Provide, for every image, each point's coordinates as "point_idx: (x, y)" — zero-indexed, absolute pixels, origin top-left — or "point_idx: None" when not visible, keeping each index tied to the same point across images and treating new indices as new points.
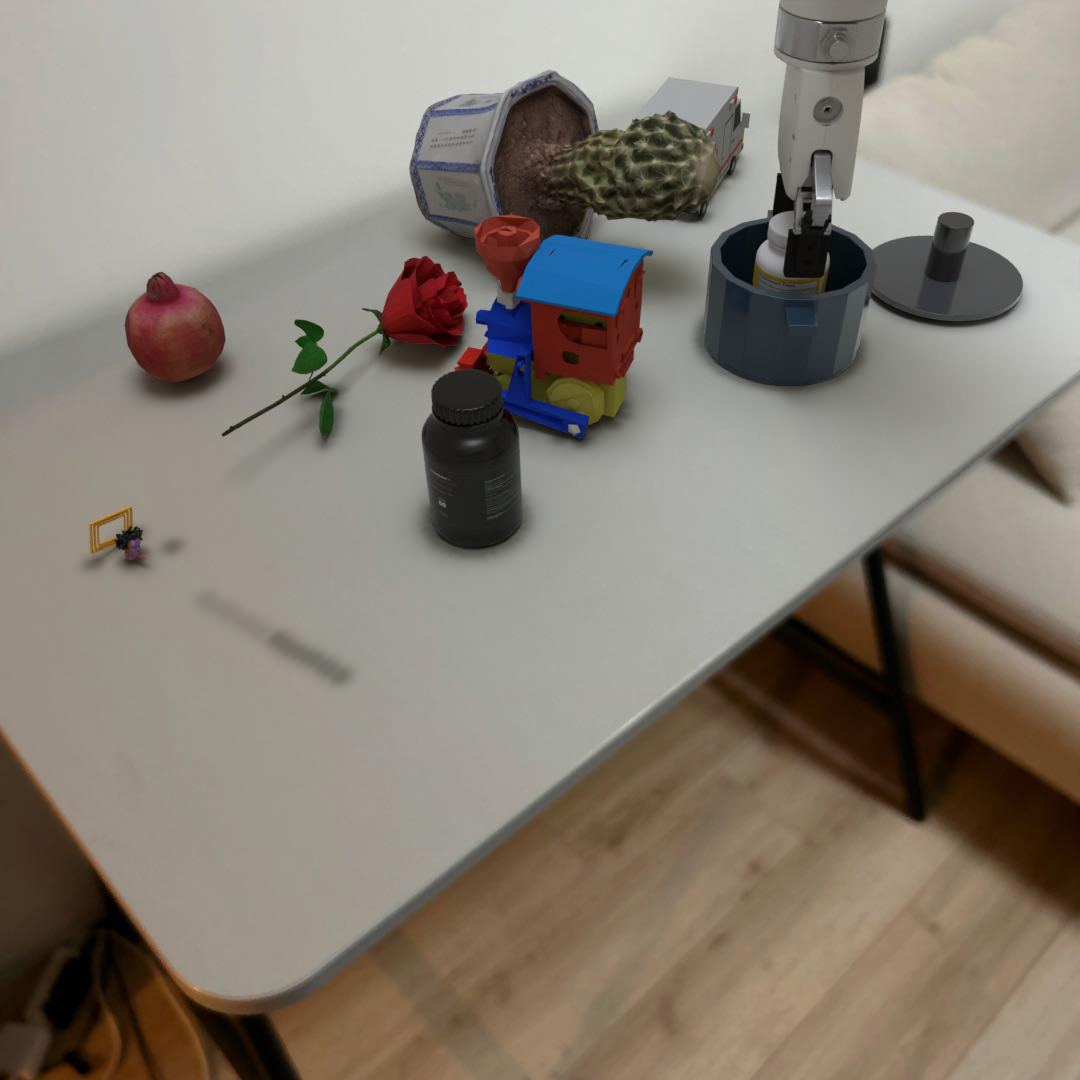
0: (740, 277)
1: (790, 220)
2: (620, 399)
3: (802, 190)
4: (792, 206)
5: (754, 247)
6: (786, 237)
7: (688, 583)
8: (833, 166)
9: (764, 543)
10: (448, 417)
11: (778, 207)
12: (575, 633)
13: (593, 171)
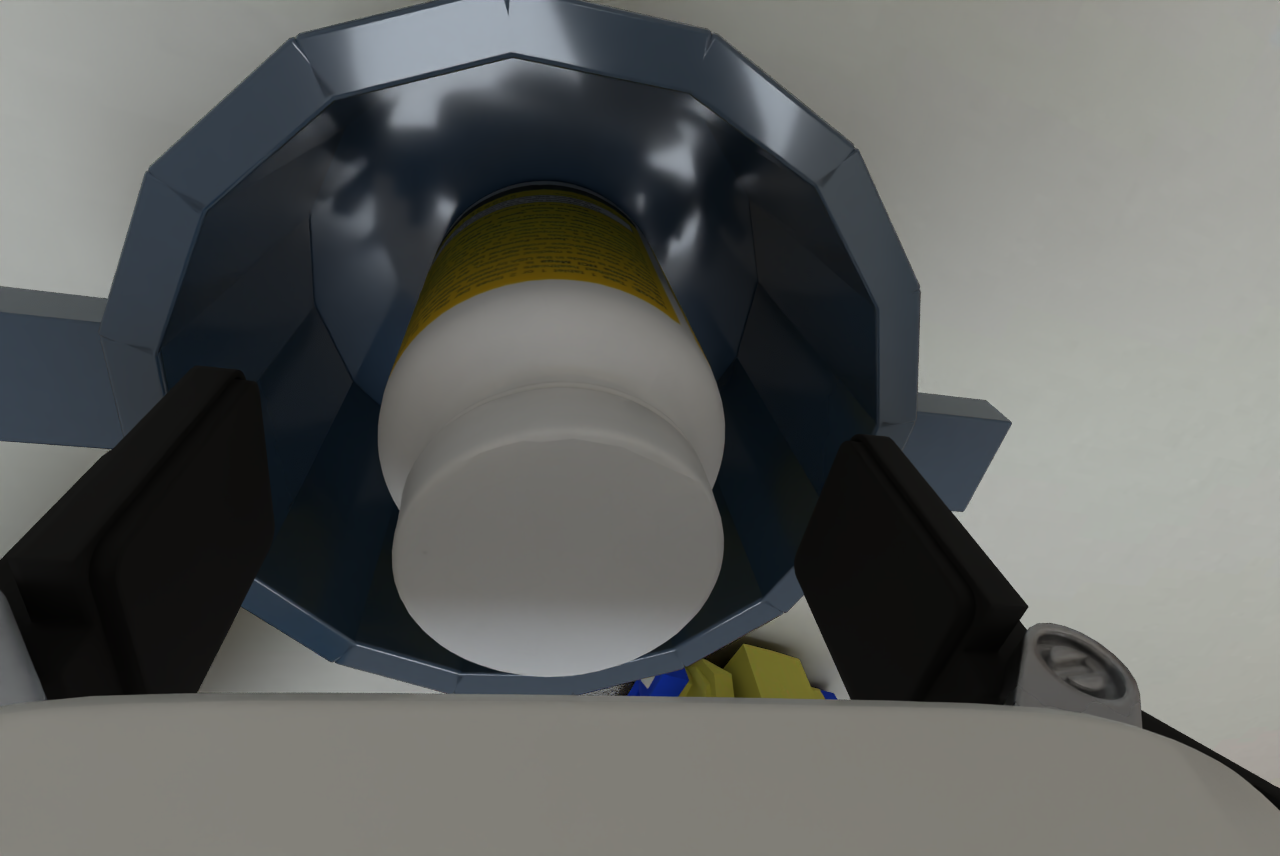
0: (330, 439)
1: (512, 594)
2: (777, 665)
3: (183, 554)
4: (236, 514)
5: (271, 469)
6: (682, 623)
7: (1199, 570)
8: None
9: (1199, 459)
10: None
11: (251, 574)
12: (1186, 684)
13: None
